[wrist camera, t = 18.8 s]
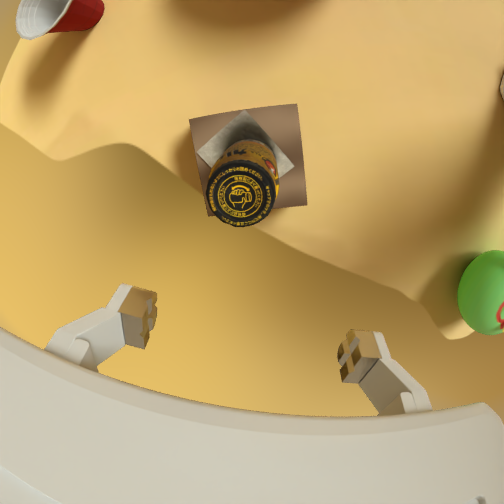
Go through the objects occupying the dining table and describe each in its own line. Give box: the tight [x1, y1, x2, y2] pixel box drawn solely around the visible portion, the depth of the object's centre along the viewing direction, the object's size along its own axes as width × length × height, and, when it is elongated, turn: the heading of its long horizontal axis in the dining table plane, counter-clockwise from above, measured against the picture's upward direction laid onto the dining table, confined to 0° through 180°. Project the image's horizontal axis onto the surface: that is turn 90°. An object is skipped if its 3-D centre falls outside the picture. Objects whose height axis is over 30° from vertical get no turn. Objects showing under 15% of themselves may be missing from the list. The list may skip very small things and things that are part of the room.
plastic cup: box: [16, 0, 104, 40], centre depth 19 cm, size 11×11×12 cm
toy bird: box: [457, 250, 504, 335], centre depth 36 cm, size 18×17×15 cm
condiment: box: [197, 110, 294, 227], centre depth 25 cm, size 7×8×12 cm
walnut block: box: [189, 104, 307, 216], centre depth 33 cm, size 12×12×6 cm
